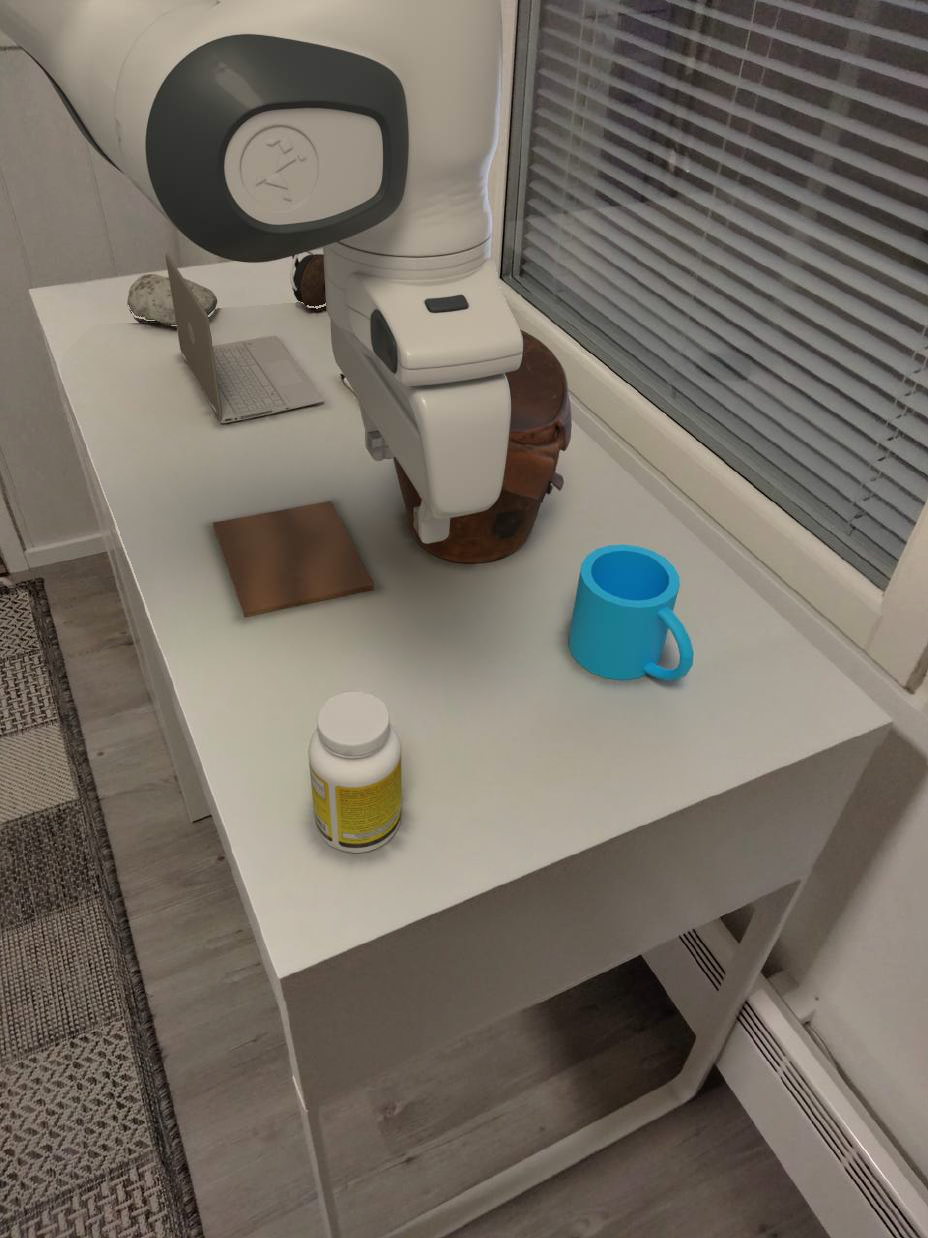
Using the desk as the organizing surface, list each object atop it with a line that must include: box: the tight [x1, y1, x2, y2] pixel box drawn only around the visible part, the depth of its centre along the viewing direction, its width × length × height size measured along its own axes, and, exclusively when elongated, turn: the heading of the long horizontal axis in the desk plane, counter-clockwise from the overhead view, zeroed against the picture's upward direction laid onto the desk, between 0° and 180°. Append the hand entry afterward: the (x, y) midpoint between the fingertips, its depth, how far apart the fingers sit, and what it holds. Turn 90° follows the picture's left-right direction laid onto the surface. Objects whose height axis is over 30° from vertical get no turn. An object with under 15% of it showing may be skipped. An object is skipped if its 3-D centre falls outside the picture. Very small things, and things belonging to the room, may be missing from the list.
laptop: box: [165, 253, 325, 424], centre depth 110 cm, size 18×12×13 cm
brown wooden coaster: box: [211, 500, 375, 618], centre depth 90 cm, size 12×14×1 cm
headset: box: [289, 250, 326, 312], centre depth 123 cm, size 17×8×20 cm, turn 59°
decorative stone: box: [126, 273, 218, 328], centre depth 125 cm, size 12×11×5 cm
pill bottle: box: [307, 690, 403, 854], centre depth 64 cm, size 6×6×11 cm
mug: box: [567, 543, 695, 681], centre depth 79 cm, size 12×8×8 cm
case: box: [392, 329, 573, 564], centre depth 89 cm, size 18×20×18 cm
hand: (404, 492), depth 60 cm, fingers open, 8 cm apart
